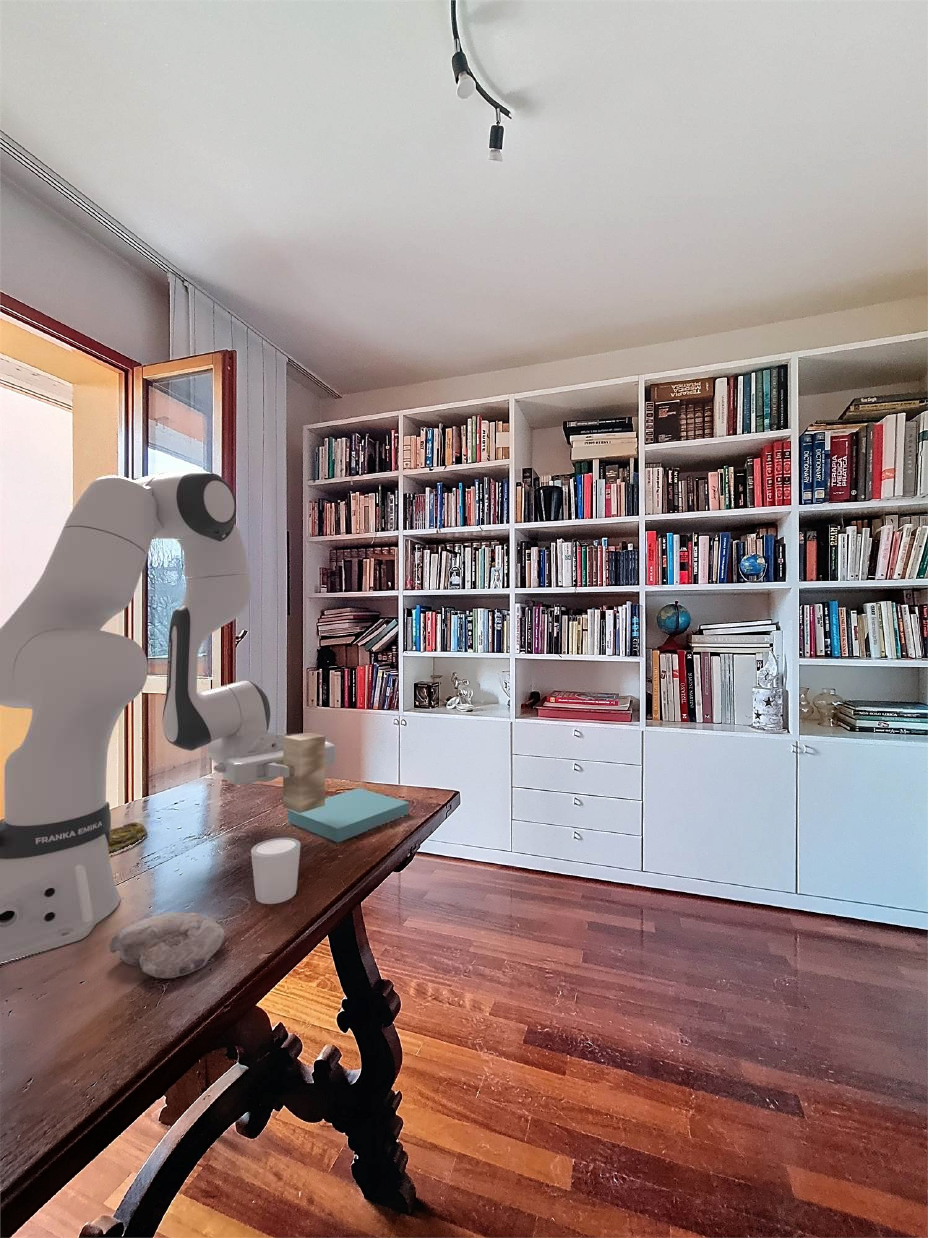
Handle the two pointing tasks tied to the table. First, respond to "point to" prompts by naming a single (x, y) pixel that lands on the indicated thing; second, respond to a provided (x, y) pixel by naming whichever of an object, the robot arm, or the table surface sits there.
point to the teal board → (349, 814)
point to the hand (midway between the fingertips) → (307, 768)
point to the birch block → (304, 772)
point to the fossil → (169, 943)
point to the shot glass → (275, 869)
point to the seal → (125, 836)
